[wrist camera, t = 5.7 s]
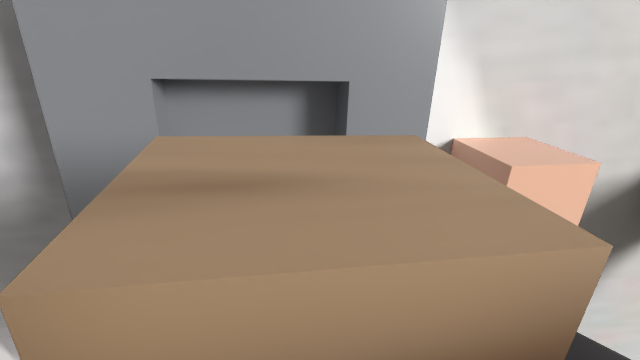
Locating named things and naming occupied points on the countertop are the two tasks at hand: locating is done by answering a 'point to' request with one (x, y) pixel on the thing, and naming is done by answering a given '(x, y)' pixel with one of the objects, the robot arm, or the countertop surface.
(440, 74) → the countertop surface
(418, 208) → the walnut block
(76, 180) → the grey slotted square board
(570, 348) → the robot arm
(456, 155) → the peach cube
